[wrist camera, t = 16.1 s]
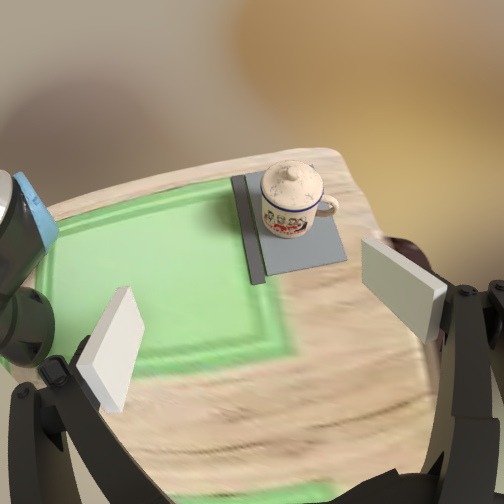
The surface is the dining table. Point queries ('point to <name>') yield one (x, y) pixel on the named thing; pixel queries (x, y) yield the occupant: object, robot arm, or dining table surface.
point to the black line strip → (248, 231)
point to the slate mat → (295, 249)
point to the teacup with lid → (293, 198)
